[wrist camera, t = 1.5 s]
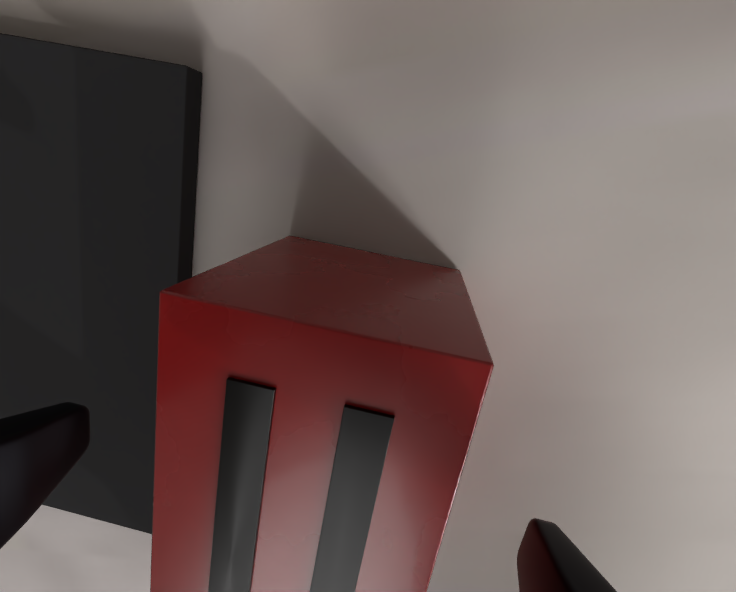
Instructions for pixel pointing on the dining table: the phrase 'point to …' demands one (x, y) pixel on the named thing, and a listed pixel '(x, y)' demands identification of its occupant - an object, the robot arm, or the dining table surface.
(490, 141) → the dining table surface
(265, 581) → the toaster
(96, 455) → the placemat
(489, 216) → the dining table surface
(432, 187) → the dining table surface
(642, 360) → the dining table surface
